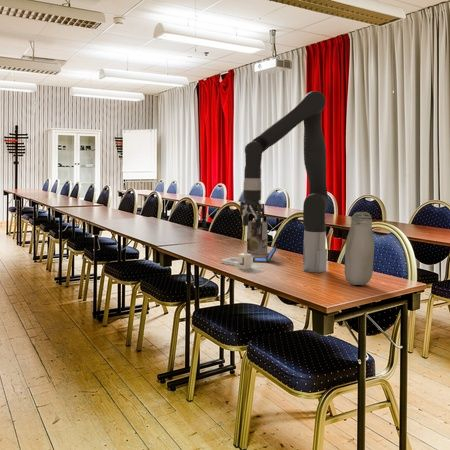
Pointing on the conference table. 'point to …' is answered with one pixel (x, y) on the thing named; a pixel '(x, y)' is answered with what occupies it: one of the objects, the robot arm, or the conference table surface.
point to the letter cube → (244, 261)
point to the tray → (230, 261)
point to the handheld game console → (264, 259)
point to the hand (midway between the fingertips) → (251, 226)
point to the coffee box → (257, 238)
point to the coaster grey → (254, 271)
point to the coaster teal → (244, 269)
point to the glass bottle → (359, 250)
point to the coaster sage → (256, 266)
